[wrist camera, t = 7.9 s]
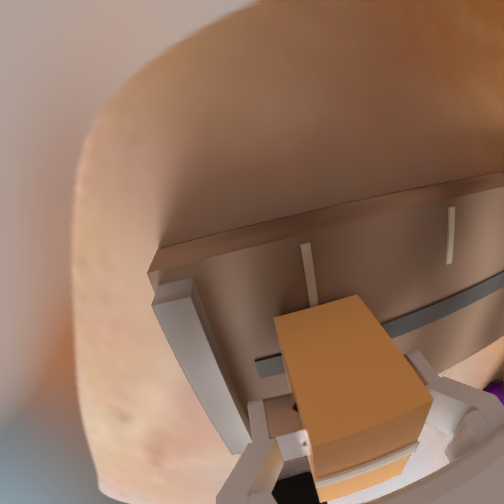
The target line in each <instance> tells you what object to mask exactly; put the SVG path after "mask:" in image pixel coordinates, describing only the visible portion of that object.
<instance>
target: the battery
mask: <svg viewBox="0 0 504 504" xmlns="http://www.w3.org/2000/svg"><path fill="white" fill-rule="evenodd" d="M271 494H272V496H273V497H274V499H275V501H276V502H277V504H327V501H326V502H322V503H320V501H319V497H318V494H317V490H316V487H315V483H314V479H313V476H312V474H311V473H304V474H301V475H298V476H294V477H291V478H288V479H284V480H281V481H277V482H276V483H275V486H274V488H273V490H272V492H271Z"/></svg>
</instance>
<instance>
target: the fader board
mask: <svg viewBox="0 0 504 504" xmlns="http://www.w3.org/2000/svg"><path fill="white" fill-rule="evenodd" d="M147 275H148V277H149V280H150V282H151V285H152V287H153V290H154V292H155V296H154V299H153V302H152V305H151V306H152V308H153V311H154V313H155V315H156V317H157V319H158V322H159V324H160V326H161V328H162V330H163V332H164V334H165V336H166V339H167V341H168V343H169V345H170V347H171V349H172V351H173V353H174V355H175V357H176V359H177V361H178V363H179V365H180V367H181V368H182V370H183V372H184V374H185V376H186V378H187V380H188V382H189V384H190V385H191V387H192V389H193V391H194V393H195V394H196V396H197V398H198V400H199V402H200V403H201V405H202V407H203V409H204V410H205V412H206V414H207V415H208V417H209V419H210V421H211V422H212V424H213V426H214V427H215V429H216V430H217V432H218V434H219V435H220V437H221V439H222V440H223V442H224V443H225V445H226V446H227V448H228V450H229V451H230V453H231V454H232V455H235V454H242V453H243V452H244V450H245V448H246V446H247V445H248V443H252V435H251V428H250V421H249V413H248V402H251V401H255V400H260V399H265V398H270V397H275V396H279V395H284V394H288V393H290V390H289V386H288V381H287V377H286V372H285V368H284V363H283V359H282V354H281V350H280V346H279V341H278V337H277V332H276V328H275V323H274V319H273V318H274V317H278V316H282V315H285V314H289V313H293V312H297V311H300V310H304V309H308V308H311V307H315V306H319V305H322V304H326V303H329V302H333V301H336V300H339V299H343V298H346V297H349V296H353V295H356V294H357V295H358V296H359V297H360V298H361V300H362V301H363V302H364V304H365V305H366V306H367V308H368V309H369V310H370V311H371V313H372V314H373V315H374V317H375V318H376V319H377V321H378V322H379V323H380V325H381V326H382V327H383V329H384V330H385V331H386V333H387V334H388V335H389V337H390V338H391V339H392V341H393V342H394V343H395V345H396V346H397V347H398V349H399V350H400V352H401V353H402V354H403V355H404V354H406V353H408V352H411V351H413V350H415V349H417V350H419V351H420V352H421V354H422V355H423V356H424V357H425V359H426V360H427V361H428V363H429V364H430V365H431V366H432V368H433V369H434V370H435V371H436V373H437V374H439V373H441V372H443V371H445V370H446V369H448V368H450V367H452V366H454V365H456V364H458V363H459V362H461V361H463V360H465V359H467V358H468V357H470V356H472V355H473V354H475V353H477V352H478V351H480V350H482V349H483V348H485V347H487V346H488V345H490V344H491V343H493V342H495V341H496V340H498V339H499V338H501V337H502V336H504V172H500V173H494V174H489V175H483V176H478V177H472V178H467V179H462V180H456V181H451V182H446V183H441V184H436V185H431V186H426V187H421V188H416V189H411V190H406V191H401V192H397V193H392V194H387V195H382V196H378V197H373V198H368V199H364V200H359V201H355V202H350V203H346V204H341V205H337V206H332V207H328V208H323V209H319V210H315V211H310V212H306V213H302V214H297V215H293V216H289V217H285V218H280V219H276V220H272V221H268V222H264V223H259V224H255V225H251V226H247V227H243V228H239V229H235V230H231V231H227V232H223V233H219V234H215V235H211V236H207V237H203V238H199V239H195V240H191V241H188V242H184V243H180V244H176V245H172V246H168V247H165V248H161V249H158V250H157V252H156V254H155V256H154V259H153V261H152V263H151V265H150V267H149V270H148V272H147Z"/></svg>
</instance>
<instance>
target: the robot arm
mask: <svg viewBox="0 0 504 504" xmlns="http://www.w3.org/2000/svg"><path fill="white" fill-rule="evenodd" d="M403 356H404V357H405V358H406V360H407V361H408V363H409V364H410V365H411V367H412V368H413V370H414V371H415V372H416V374H417V375H418V377H419V378H420V380H421V381H422V382H423V384H424V385H425V387H426V388H427V390H428V391H429V393H430V394H431V395H432V397H433V398H434V400H433V403H432V406H431V408H430V411H429V413H428V416H427V418H426V421H425V423H426V424H427V425H429V426H431V427H433V428H434V429H436V430H438V431H440V432H442V433H443V434H445V435H447V436H449V437H451V438H452V439H451V441H450V443H449V444H448V446H447V448H446V450H445V454H446V456H447V458H448V459H449V461H450V463H449V464H447V465H446V466H444V467H442V468H440V469H439V470H437V471H435V472H433V473H431V474H429V475H427V476H426V477H424V478H422V479H420V480H418V481H416V482H414V483H412V484H409V485H407V486H405V487H403V488H401V489H399V490H396V491H394V492H392V493H389V494H387V495H385V496H382V497H380V498H377V499H374V500H372V501H369V502H367V503H364V504H504V405H503V404H502V403H501V402H500V400H499V399H498V398H497V397H496V395H494V394H491V393H488V392H485V391H483V390H480V389H477V388H474V387H471V386H468V385H466V384H463V383H460V382H457V381H455V380H452V379H449V378H447V377H442V378H440V377H439V375H438V374H437V373H436V371H435V370H434V369H433V368H432V366H431V365H430V364H429V363H428V361H427V360H426V359H425V357H424V356H423V355H422V354H421V352H420V351H419V350H417V349H415V350H413V351H411V352H408V353H406V354H404V355H403ZM248 413H249V421H250V428H251V435H252V443H248V445H247V446H246V448H245V450H244V452H243V453H242V455H241V457H240V459H239V460H238V462H237V464H236V465H235V467H234V469H233V470H232V472H231V474H230V475H229V477H228V479H227V480H226V482H225V483H224V485H223V487H222V488H221V490H220V491H219V493H218V495H217V496H216V504H277V502H276V501H275V499H274V497H273V496H272V494H271V492H272V490H273V488H274V486H275V483H276V481H277V479H278V476H279V474H280V472H281V469H282V467H283V464H284V461H287V460H291V459H295V458H299V457H302V456H306V455H308V450H307V445H306V442H305V435H304V430H303V426H302V423H301V419H300V416H299V413H298V411H297V407H296V402H295V398H294V395H293V392H292V393H288V394H284V395H279V396H275V397H270V398H265V399H260V400H255V401H251V402H248Z"/></svg>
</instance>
